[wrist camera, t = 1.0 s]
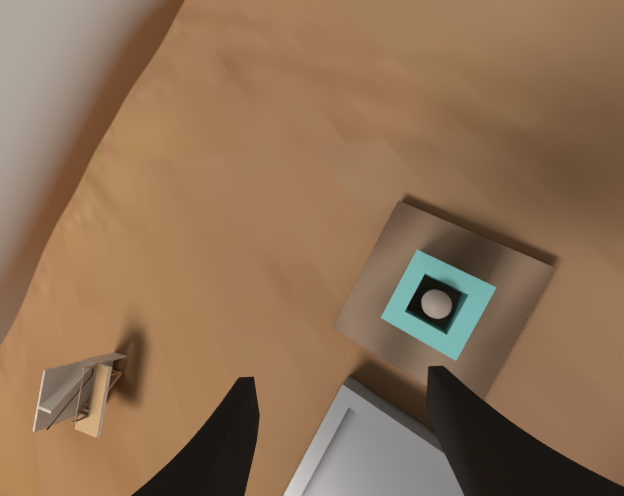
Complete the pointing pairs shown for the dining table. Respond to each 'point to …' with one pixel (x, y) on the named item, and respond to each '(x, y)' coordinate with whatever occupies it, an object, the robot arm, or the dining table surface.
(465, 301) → the collar
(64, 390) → the architectural model
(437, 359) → the stake board
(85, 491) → the dining table surface
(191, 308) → the dining table surface
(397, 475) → the tray
